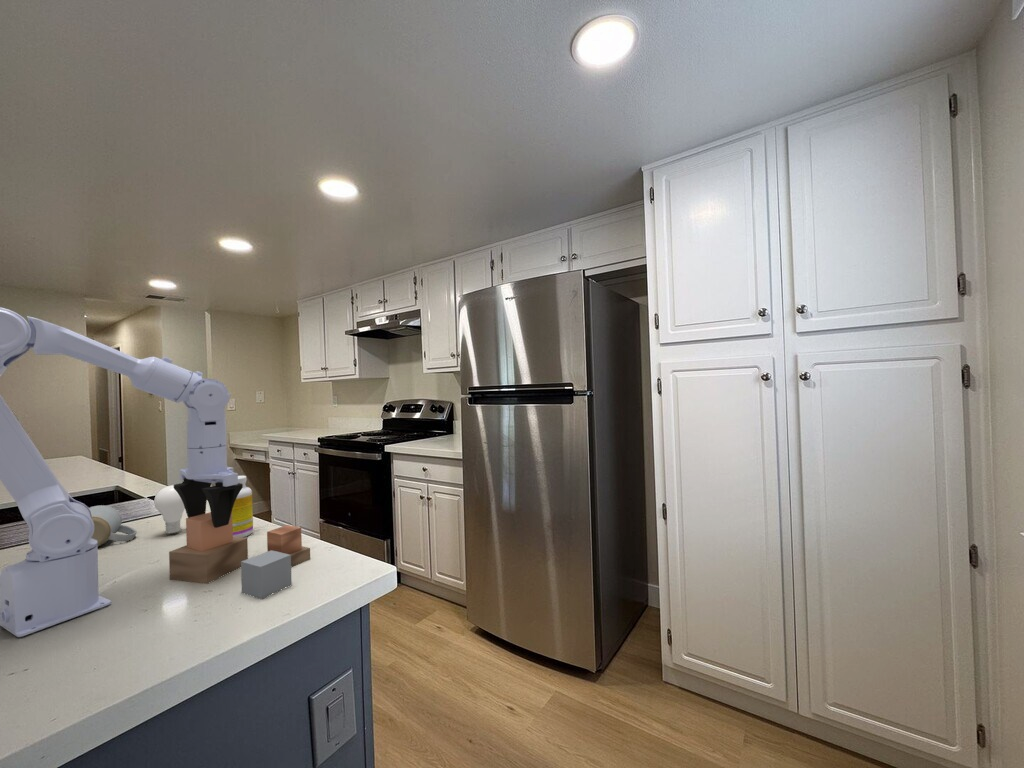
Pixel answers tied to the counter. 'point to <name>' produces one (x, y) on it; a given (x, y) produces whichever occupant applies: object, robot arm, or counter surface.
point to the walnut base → (207, 561)
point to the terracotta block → (207, 532)
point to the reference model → (288, 543)
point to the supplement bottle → (242, 511)
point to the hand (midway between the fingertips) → (208, 523)
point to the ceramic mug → (109, 525)
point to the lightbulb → (170, 508)
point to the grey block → (266, 574)
